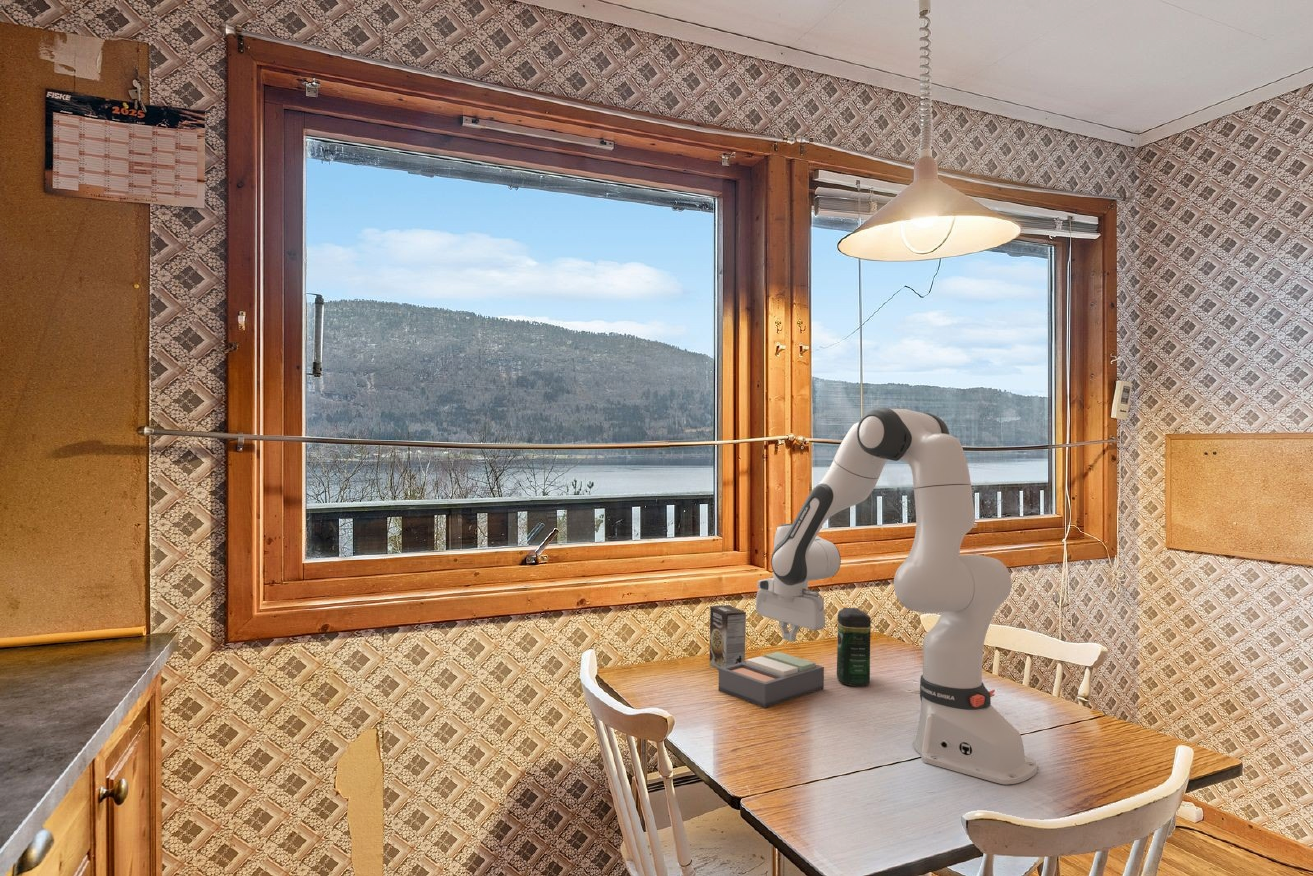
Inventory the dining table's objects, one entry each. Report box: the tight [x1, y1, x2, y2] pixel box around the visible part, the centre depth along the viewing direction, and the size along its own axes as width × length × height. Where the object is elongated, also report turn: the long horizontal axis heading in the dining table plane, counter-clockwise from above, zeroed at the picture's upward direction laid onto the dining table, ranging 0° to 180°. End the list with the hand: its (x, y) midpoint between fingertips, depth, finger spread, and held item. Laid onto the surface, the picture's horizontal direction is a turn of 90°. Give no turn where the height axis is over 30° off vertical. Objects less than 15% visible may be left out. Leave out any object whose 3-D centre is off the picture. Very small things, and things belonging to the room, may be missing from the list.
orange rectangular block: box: [731, 668, 775, 682], centre depth 177 cm, size 12×5×3 cm, turn 40°
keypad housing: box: [718, 655, 825, 709], centre depth 181 cm, size 15×22×6 cm
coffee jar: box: [836, 607, 872, 687], centre depth 189 cm, size 10×8×19 cm
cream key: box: [746, 655, 798, 676], centre depth 181 cm, size 12×5×3 cm, turn 40°
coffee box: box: [709, 604, 747, 670], centre depth 199 cm, size 9×6×16 cm
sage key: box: [764, 651, 816, 671], centre depth 186 cm, size 12×5×3 cm, turn 40°
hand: (789, 640), depth 186 cm, fingers closed
